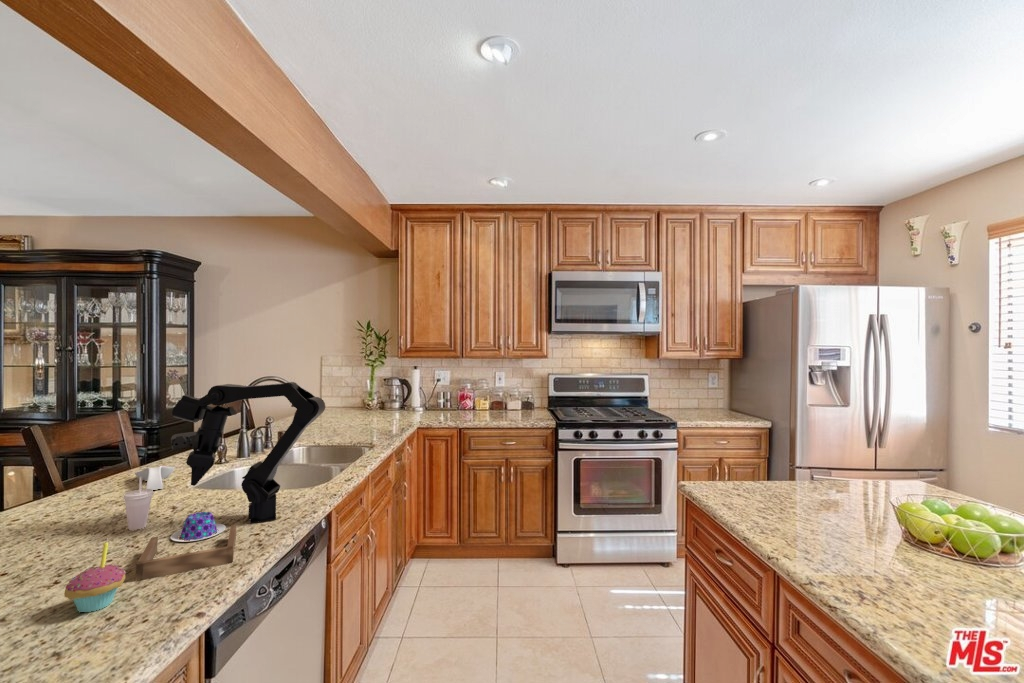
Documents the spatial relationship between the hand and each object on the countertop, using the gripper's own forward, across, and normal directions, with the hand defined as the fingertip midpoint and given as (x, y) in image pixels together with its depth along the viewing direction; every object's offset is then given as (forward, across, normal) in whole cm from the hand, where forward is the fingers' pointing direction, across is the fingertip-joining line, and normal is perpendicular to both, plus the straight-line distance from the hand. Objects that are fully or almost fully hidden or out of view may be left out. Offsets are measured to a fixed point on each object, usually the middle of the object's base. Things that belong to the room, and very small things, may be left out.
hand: (195, 479), depth 126 cm
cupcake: (+10, +44, -9) cm, 45 cm away
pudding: (+10, +13, +5) cm, 17 cm away
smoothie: (+15, +1, -9) cm, 17 cm away
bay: (+8, +28, +4) cm, 30 cm away
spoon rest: (+21, -48, -12) cm, 53 cm away
